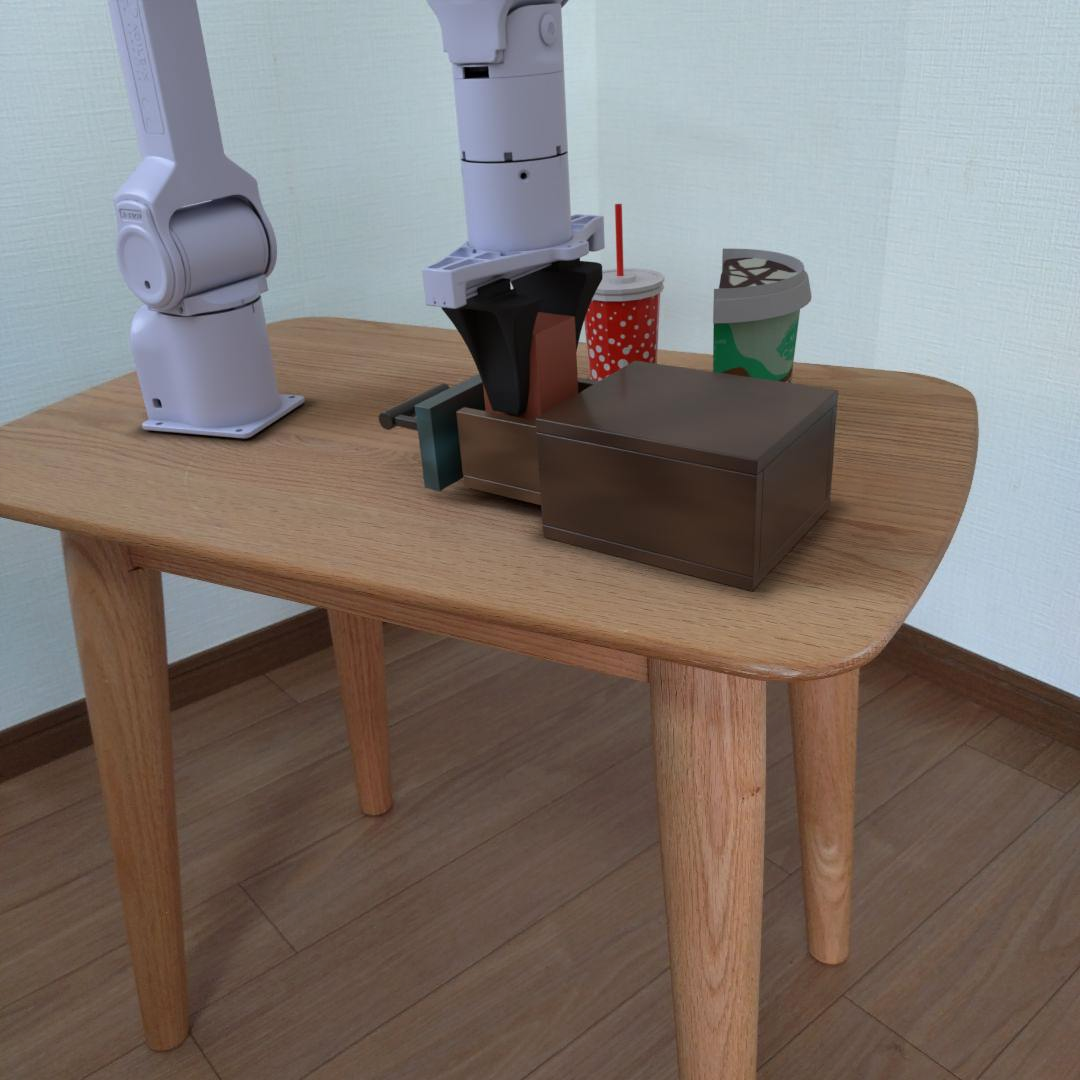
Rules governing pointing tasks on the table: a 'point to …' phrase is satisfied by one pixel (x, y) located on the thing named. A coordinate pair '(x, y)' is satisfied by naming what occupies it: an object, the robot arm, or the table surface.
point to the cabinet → (688, 469)
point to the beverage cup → (623, 315)
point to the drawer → (472, 440)
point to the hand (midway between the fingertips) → (531, 398)
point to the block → (549, 365)
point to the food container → (758, 313)
